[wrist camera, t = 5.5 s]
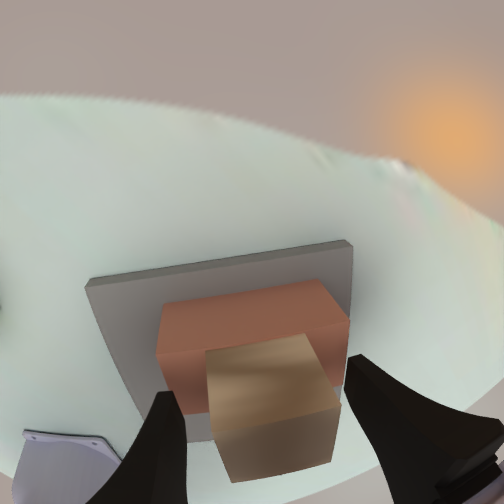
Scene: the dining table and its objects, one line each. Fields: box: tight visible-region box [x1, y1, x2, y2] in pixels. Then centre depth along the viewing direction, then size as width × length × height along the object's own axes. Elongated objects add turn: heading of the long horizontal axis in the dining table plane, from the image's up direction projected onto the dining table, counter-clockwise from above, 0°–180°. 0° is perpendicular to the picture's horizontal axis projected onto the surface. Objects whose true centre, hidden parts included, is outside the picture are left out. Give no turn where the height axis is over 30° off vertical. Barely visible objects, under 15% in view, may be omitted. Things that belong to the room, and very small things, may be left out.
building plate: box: [84, 240, 353, 443], centre depth 18 cm, size 14×14×1 cm
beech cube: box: [205, 333, 342, 483], centre depth 11 cm, size 4×4×4 cm
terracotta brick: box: [155, 279, 350, 415], centre depth 14 cm, size 8×4×4 cm, turn 96°
